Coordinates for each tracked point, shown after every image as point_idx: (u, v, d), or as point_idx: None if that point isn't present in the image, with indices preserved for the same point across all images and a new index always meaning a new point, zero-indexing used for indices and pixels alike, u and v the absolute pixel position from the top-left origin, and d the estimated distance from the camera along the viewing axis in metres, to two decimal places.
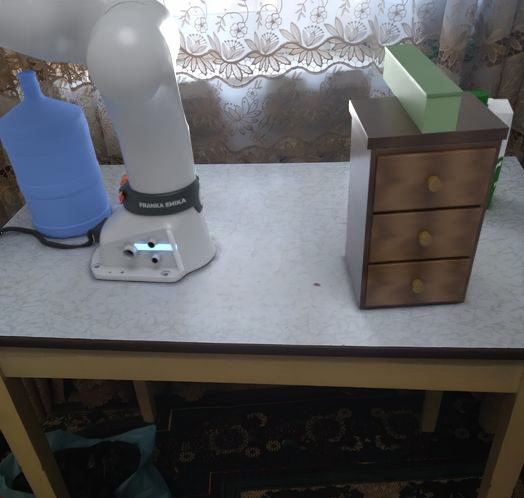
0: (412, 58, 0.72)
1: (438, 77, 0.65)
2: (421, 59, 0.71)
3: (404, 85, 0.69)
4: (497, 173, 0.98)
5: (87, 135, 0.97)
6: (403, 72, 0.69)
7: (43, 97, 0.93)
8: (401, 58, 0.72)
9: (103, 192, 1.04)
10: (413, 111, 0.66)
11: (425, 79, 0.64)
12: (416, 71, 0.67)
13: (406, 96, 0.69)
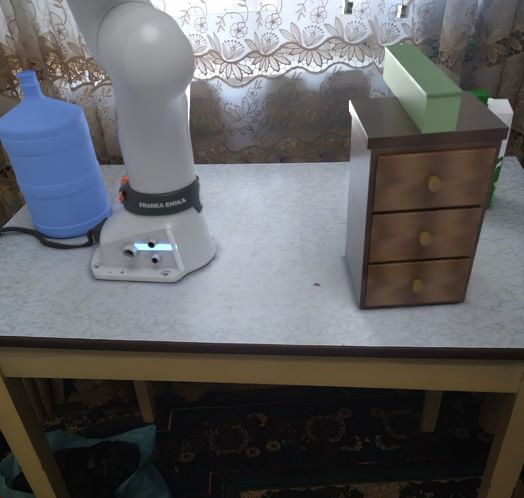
0: (412, 58, 0.72)
1: (438, 77, 0.65)
2: (421, 59, 0.71)
3: (404, 85, 0.69)
4: (497, 173, 0.98)
5: (87, 135, 0.97)
6: (403, 72, 0.69)
7: (43, 97, 0.93)
8: (401, 58, 0.72)
9: (103, 192, 1.04)
10: (413, 111, 0.66)
11: (425, 79, 0.64)
12: (416, 71, 0.67)
13: (406, 96, 0.69)
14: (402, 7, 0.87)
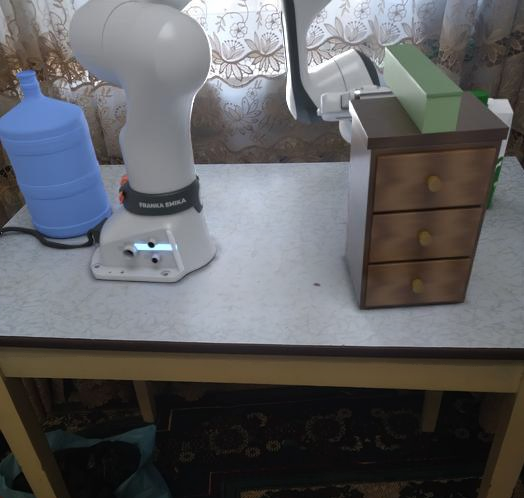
0: (412, 58, 0.72)
1: (438, 77, 0.65)
2: (421, 59, 0.71)
3: (404, 85, 0.69)
4: (497, 173, 0.98)
5: (87, 135, 0.97)
6: (403, 72, 0.69)
7: (43, 97, 0.93)
8: (401, 58, 0.72)
9: (103, 192, 1.04)
10: (413, 111, 0.66)
11: (425, 79, 0.64)
12: (416, 71, 0.67)
13: (406, 96, 0.69)
14: None
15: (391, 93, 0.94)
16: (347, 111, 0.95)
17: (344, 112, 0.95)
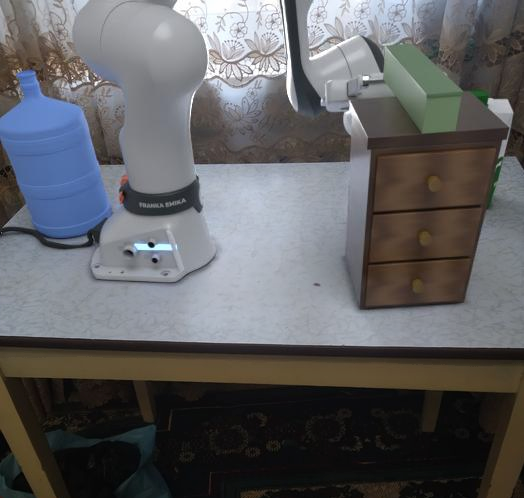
0: (412, 58, 0.72)
1: (438, 77, 0.65)
2: (421, 59, 0.71)
3: (404, 85, 0.69)
4: (497, 173, 0.98)
5: (87, 135, 0.97)
6: (403, 72, 0.69)
7: (43, 97, 0.93)
8: (401, 58, 0.72)
9: (103, 192, 1.04)
10: (413, 111, 0.66)
11: (425, 79, 0.64)
12: (416, 71, 0.67)
13: (406, 96, 0.69)
14: None
15: None
16: None
17: None
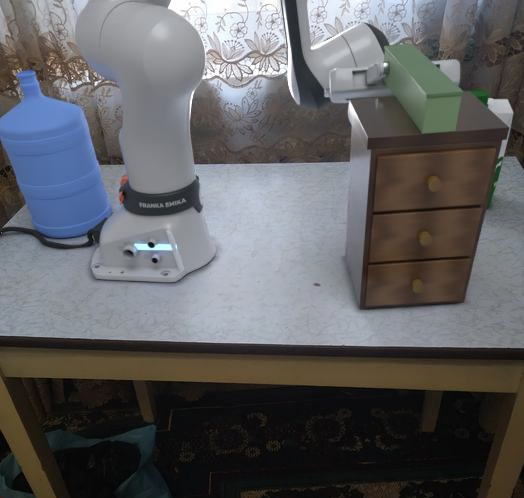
0: (412, 58, 0.72)
1: (438, 77, 0.65)
2: (421, 59, 0.71)
3: (404, 85, 0.69)
4: (497, 173, 0.98)
5: (87, 135, 0.97)
6: (403, 72, 0.69)
7: (43, 97, 0.93)
8: (401, 58, 0.72)
9: (103, 192, 1.04)
10: (413, 111, 0.66)
11: (425, 79, 0.64)
12: (416, 71, 0.67)
13: (406, 96, 0.69)
14: None
15: None
16: (360, 90, 0.81)
17: (356, 91, 0.81)
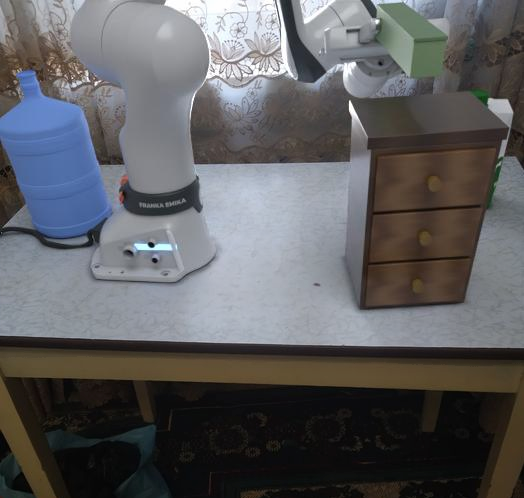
0: (402, 13, 0.75)
1: (425, 26, 0.68)
2: (410, 13, 0.75)
3: (394, 37, 0.73)
4: (497, 173, 0.98)
5: (87, 135, 0.97)
6: (393, 24, 0.73)
7: (43, 97, 0.93)
8: (391, 13, 0.76)
9: (103, 192, 1.04)
10: (402, 59, 0.70)
11: (413, 28, 0.68)
12: (405, 22, 0.71)
13: (396, 47, 0.72)
14: None
15: None
16: (353, 48, 0.85)
17: (350, 49, 0.85)
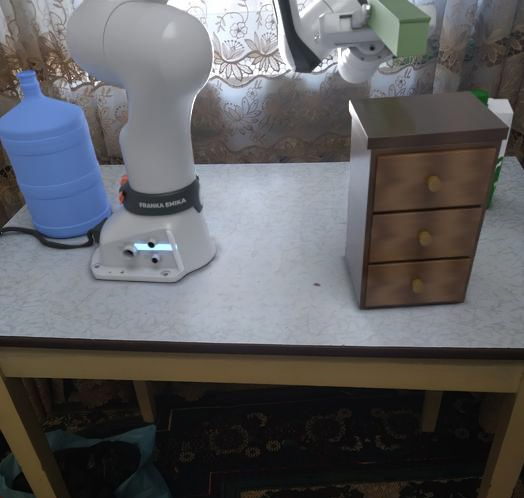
0: None
1: (411, 9, 0.74)
2: None
3: (383, 20, 0.78)
4: (497, 173, 0.98)
5: (87, 135, 0.97)
6: (382, 9, 0.78)
7: (43, 97, 0.93)
8: None
9: (103, 192, 1.04)
10: (389, 40, 0.75)
11: (399, 11, 0.73)
12: (393, 6, 0.76)
13: (384, 29, 0.78)
14: None
15: None
16: (346, 32, 0.90)
17: (343, 34, 0.91)
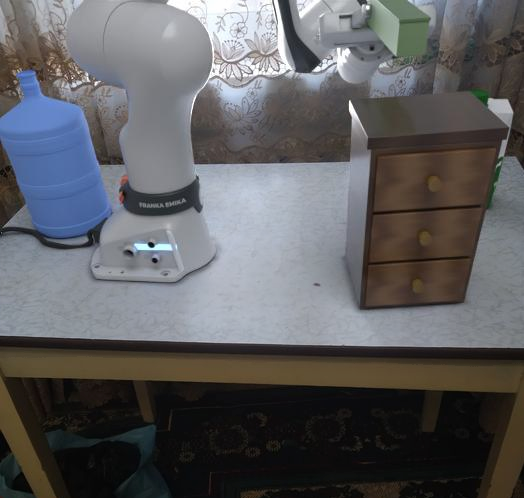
0: None
1: (411, 9, 0.74)
2: None
3: (382, 20, 0.79)
4: (497, 173, 0.98)
5: (87, 135, 0.97)
6: (381, 9, 0.79)
7: (43, 97, 0.93)
8: None
9: (103, 192, 1.04)
10: (389, 40, 0.75)
11: (399, 11, 0.73)
12: (392, 6, 0.76)
13: (384, 29, 0.78)
14: None
15: None
16: (346, 33, 0.90)
17: (343, 34, 0.91)
